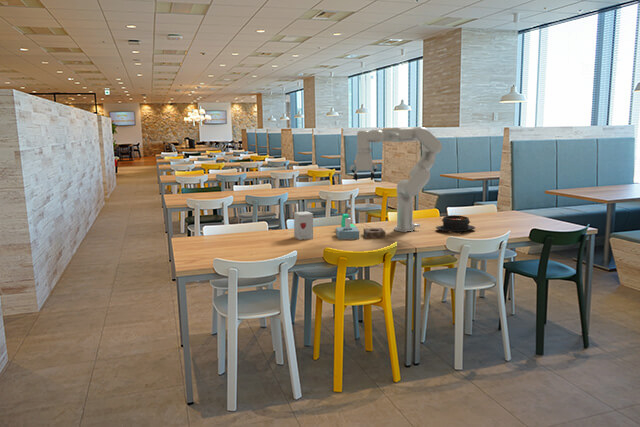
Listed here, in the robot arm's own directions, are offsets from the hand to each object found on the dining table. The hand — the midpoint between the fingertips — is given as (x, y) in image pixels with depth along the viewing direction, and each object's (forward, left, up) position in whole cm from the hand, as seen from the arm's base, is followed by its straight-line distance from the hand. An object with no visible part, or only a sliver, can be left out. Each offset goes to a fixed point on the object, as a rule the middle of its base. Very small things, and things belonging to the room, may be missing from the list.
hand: (364, 180), depth 294 cm
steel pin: (+11, +11, -32) cm, 36 cm away
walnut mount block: (-5, +11, -32) cm, 34 cm away
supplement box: (+37, +11, -32) cm, 51 cm away
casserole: (-58, +2, -33) cm, 66 cm away
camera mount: (+8, -8, -33) cm, 34 cm away
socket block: (+11, +11, -32) cm, 36 cm away
